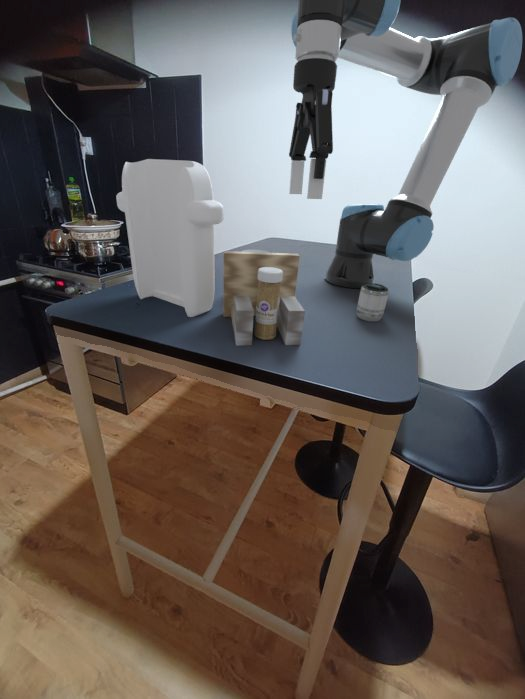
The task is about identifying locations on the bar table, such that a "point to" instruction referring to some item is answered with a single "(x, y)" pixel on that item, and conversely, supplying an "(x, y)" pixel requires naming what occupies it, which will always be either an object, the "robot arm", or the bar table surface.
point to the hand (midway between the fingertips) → (304, 196)
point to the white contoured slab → (171, 231)
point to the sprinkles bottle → (267, 302)
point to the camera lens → (372, 302)
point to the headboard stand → (243, 294)
